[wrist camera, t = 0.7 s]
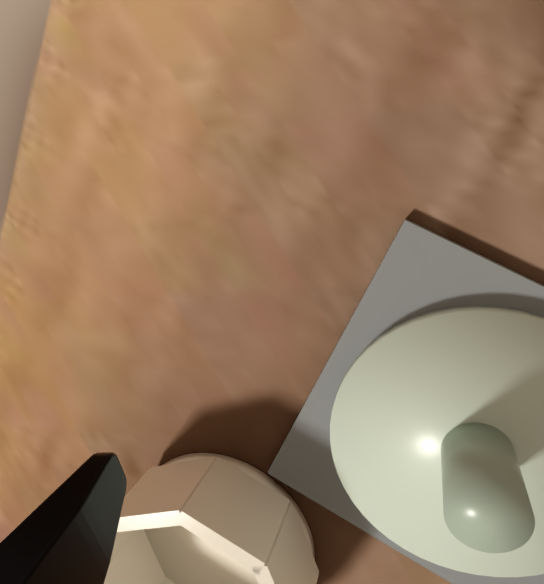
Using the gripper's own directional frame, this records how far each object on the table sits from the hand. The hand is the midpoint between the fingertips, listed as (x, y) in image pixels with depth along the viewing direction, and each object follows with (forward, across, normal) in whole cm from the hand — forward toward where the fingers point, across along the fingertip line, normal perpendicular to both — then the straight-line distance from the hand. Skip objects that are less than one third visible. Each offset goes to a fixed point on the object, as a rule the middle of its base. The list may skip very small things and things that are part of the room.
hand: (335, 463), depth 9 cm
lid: (+9, -6, +10) cm, 15 cm away
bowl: (+10, +7, +19) cm, 22 cm away
